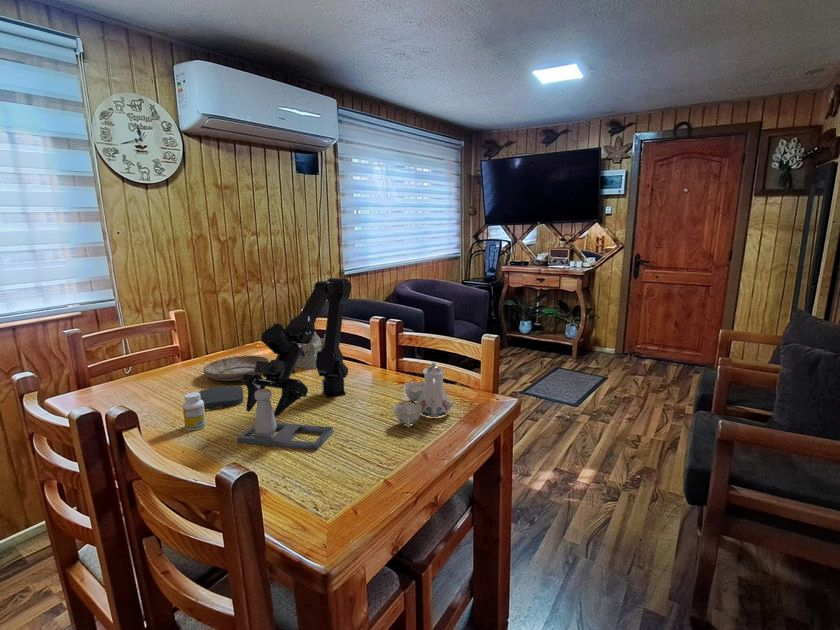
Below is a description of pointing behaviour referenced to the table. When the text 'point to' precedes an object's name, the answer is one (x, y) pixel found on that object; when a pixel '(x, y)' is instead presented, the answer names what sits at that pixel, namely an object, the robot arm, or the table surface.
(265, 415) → the salt shaker
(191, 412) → the supplement bottle
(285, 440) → the hole plate
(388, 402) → the table surface
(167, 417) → the table surface
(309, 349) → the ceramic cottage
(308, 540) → the table surface
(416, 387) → the chinaware
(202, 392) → the media streaming box
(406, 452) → the table surface
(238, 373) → the ceramic bowl
